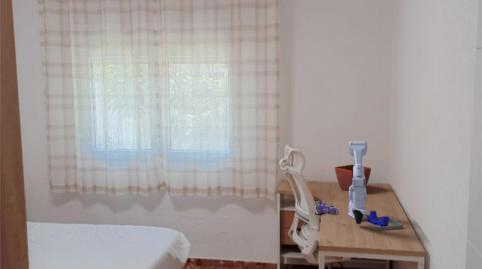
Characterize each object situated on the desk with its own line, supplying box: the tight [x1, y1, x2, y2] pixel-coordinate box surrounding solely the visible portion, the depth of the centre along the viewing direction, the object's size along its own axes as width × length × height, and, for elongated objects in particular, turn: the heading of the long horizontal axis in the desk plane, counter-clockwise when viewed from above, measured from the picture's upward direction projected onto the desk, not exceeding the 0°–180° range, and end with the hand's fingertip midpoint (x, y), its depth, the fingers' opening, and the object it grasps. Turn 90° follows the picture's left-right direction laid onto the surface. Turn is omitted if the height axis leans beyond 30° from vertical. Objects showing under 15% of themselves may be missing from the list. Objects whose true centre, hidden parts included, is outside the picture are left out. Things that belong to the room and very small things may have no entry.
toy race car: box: [313, 200, 340, 215], centre depth 247 cm, size 10×15×6 cm, turn 82°
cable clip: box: [367, 210, 389, 227], centre depth 222 cm, size 12×4×6 cm, turn 18°
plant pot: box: [334, 164, 372, 192], centre depth 302 cm, size 19×19×17 cm
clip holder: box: [361, 216, 404, 231], centre depth 222 cm, size 17×16×2 cm
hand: (358, 223), depth 219 cm, fingers closed
